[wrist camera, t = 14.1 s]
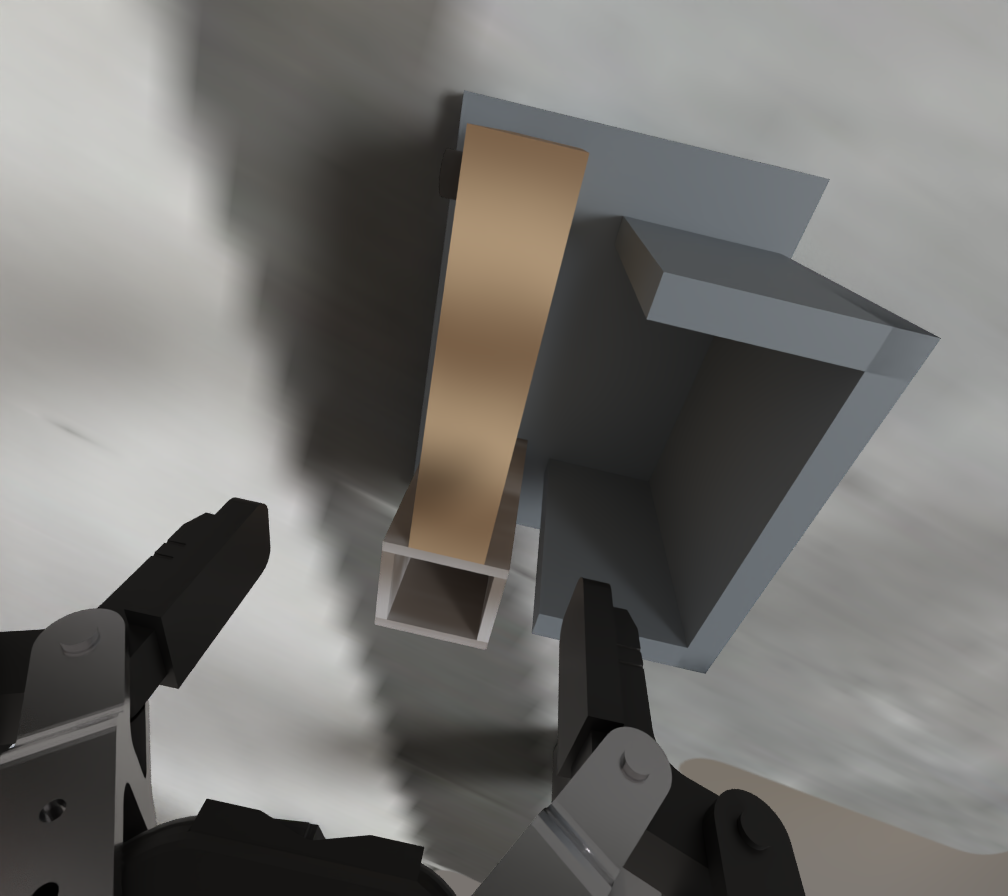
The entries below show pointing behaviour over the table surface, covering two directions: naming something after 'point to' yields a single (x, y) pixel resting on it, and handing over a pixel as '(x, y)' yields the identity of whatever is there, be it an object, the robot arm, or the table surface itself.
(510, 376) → the door
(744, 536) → the grey corner bracket
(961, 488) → the table surface
